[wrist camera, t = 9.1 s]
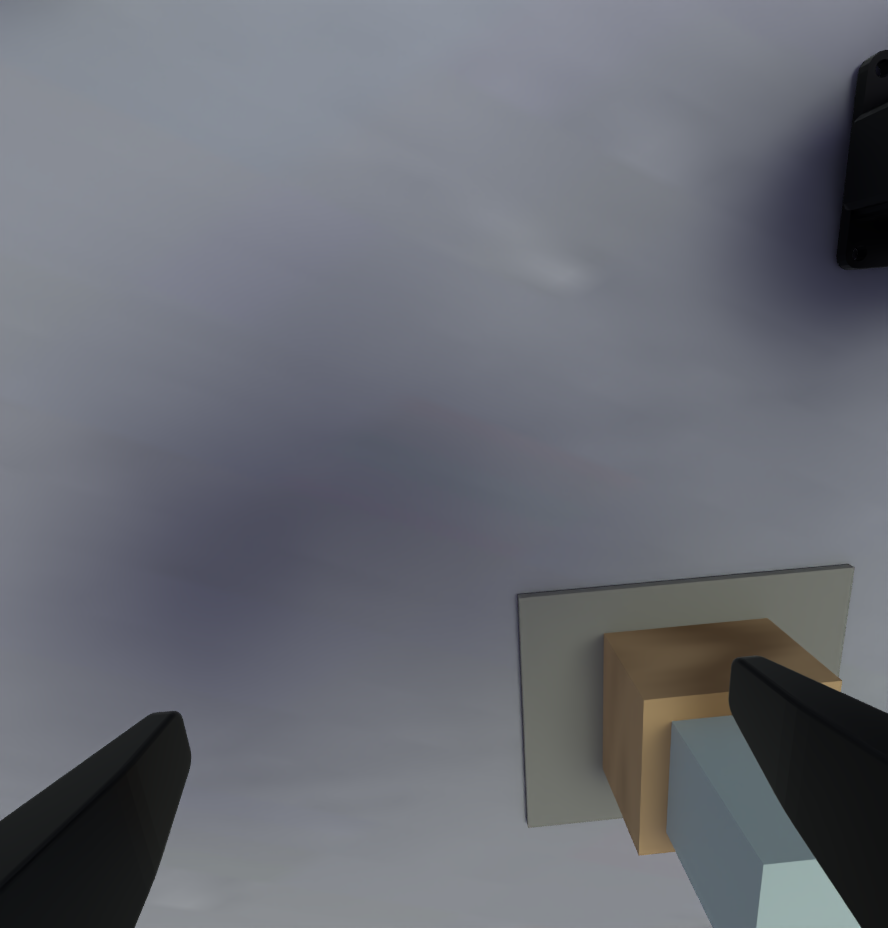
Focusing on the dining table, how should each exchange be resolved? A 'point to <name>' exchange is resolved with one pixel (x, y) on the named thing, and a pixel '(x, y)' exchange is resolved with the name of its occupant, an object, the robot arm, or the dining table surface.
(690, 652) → the tan square block
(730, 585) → the mat
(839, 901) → the slate block
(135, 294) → the dining table surface
